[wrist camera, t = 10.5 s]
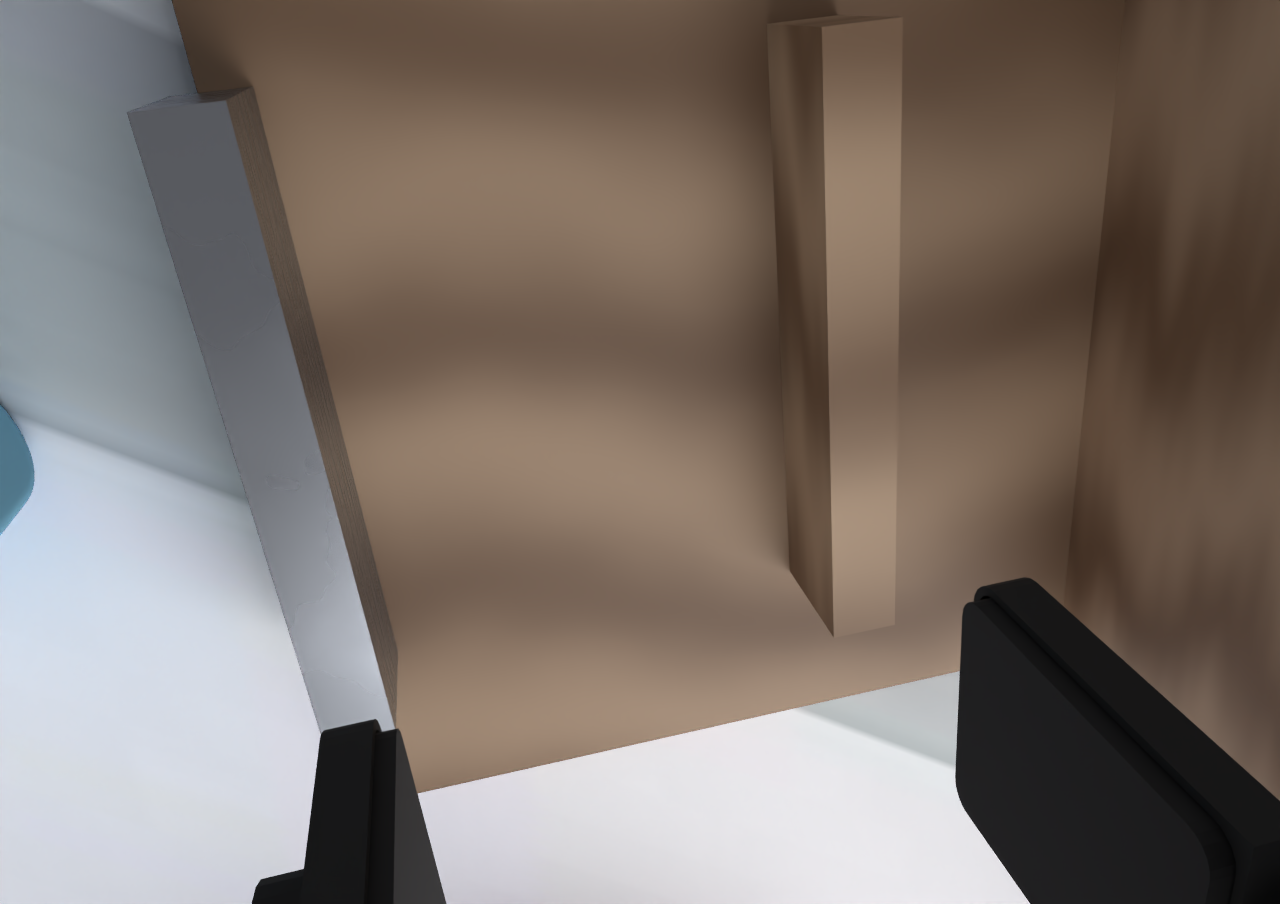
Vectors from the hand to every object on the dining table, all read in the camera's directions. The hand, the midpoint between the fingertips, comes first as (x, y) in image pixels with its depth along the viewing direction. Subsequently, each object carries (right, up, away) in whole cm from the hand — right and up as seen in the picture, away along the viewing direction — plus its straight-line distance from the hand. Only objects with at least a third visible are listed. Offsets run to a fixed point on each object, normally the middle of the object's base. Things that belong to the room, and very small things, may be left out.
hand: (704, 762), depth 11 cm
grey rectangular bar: (-8, +5, +11) cm, 14 cm away
